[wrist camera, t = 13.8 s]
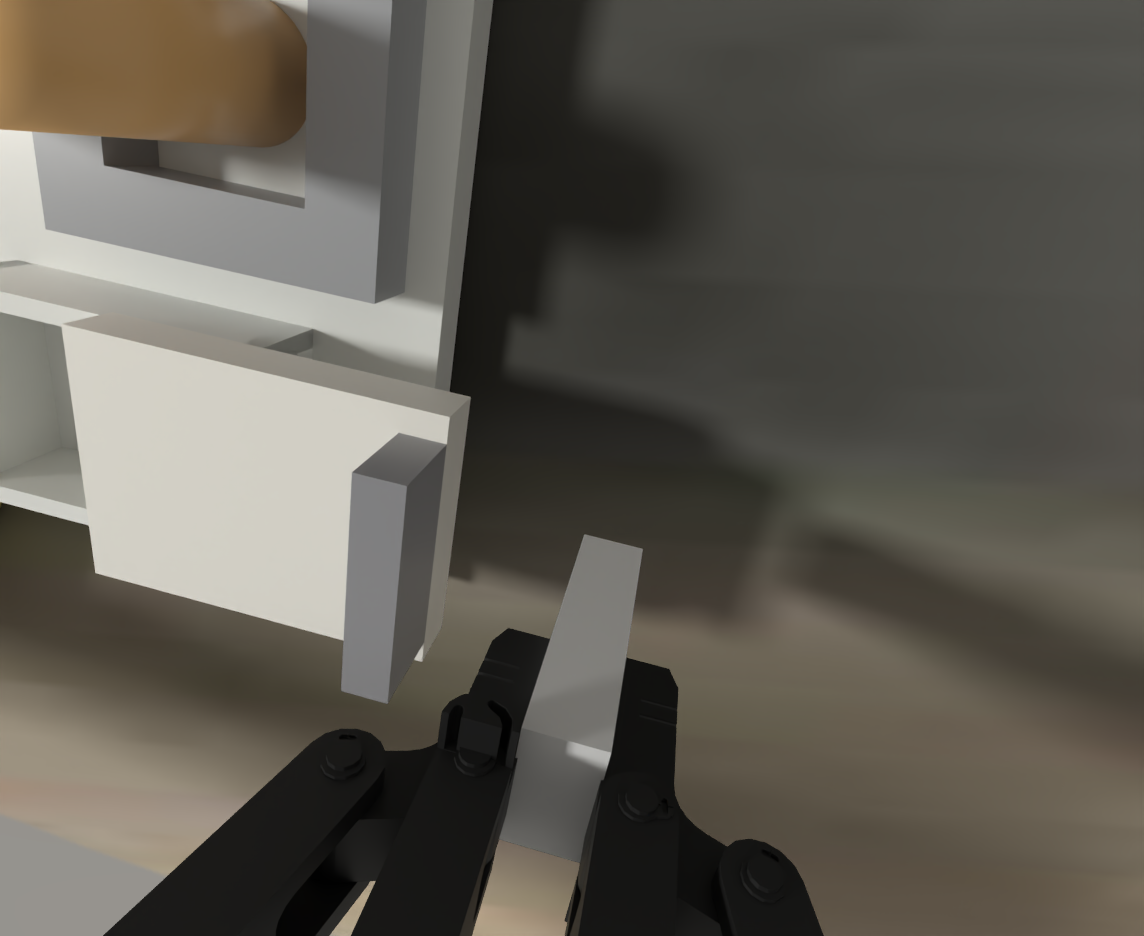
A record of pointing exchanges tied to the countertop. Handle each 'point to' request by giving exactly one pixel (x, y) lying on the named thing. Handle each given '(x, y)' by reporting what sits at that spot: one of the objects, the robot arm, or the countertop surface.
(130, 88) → the peg
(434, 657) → the countertop surface
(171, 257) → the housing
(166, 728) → the countertop surface
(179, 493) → the lid
